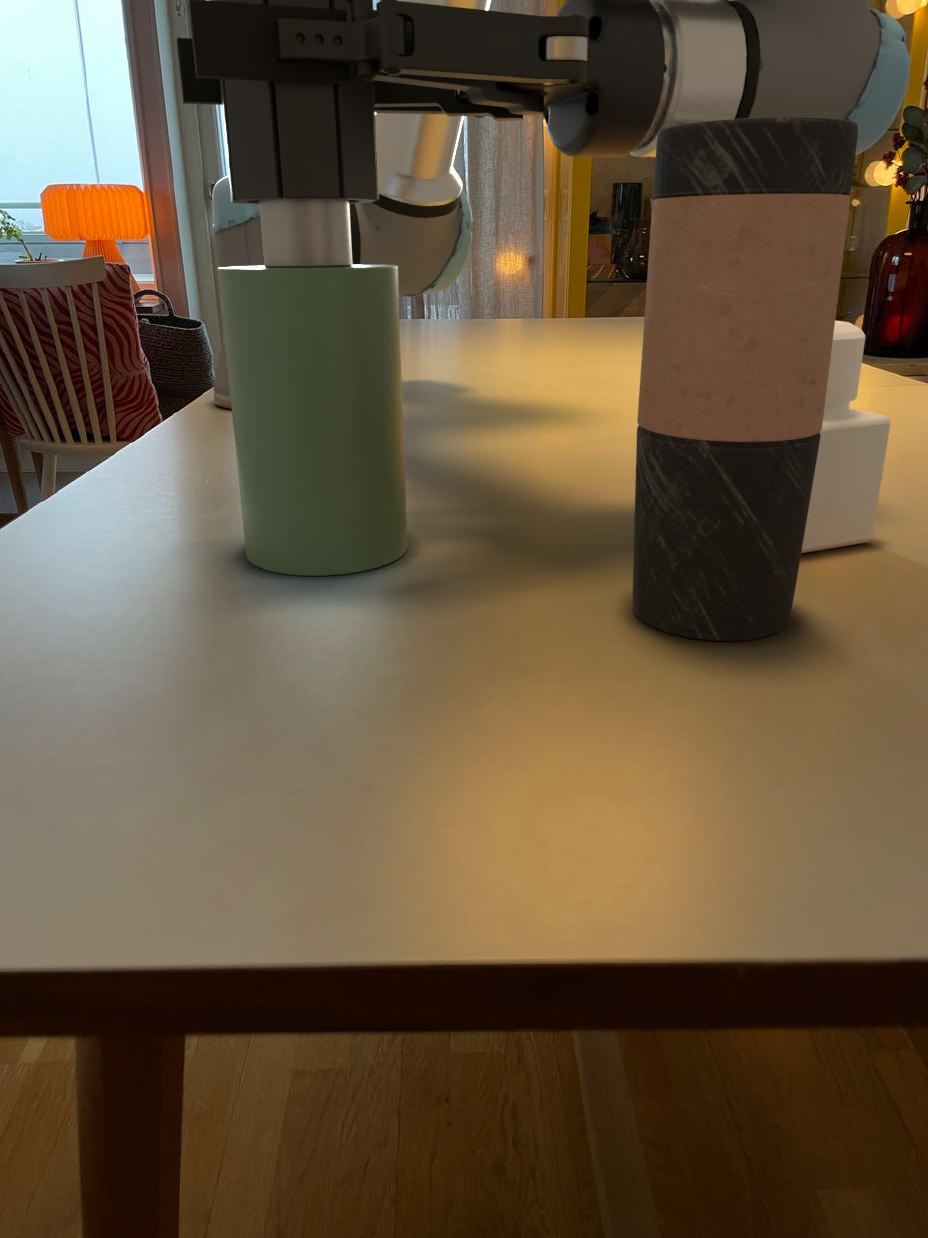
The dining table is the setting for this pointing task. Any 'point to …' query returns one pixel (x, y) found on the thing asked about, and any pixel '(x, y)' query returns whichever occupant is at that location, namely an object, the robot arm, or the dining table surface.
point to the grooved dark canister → (301, 134)
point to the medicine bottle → (846, 454)
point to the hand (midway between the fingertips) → (186, 56)
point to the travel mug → (735, 367)
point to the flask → (316, 396)
